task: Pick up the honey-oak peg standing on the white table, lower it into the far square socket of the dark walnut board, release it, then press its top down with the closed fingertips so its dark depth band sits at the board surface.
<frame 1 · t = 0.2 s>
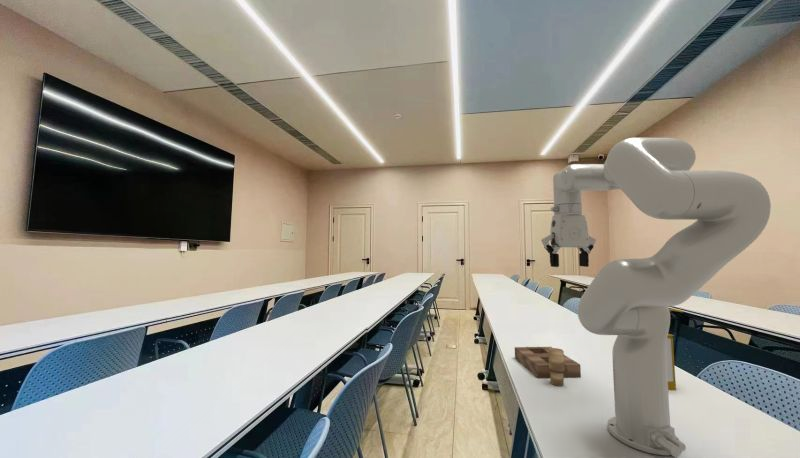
hand: (569, 266, 93), 36 cm above the table, tool pointing down, fingers open, 9 cm apart
board: (545, 366, 106), on the table
soap bottle: (664, 385, 92), on the table
peg: (557, 383, 93), on the table
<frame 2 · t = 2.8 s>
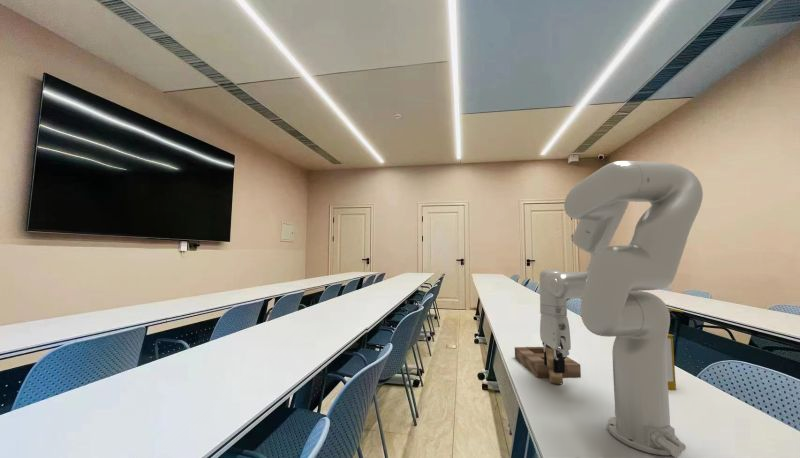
hand: (554, 368, 95), 4 cm above the table, tool pointing down, fingers closed on peg, 4 cm apart
peg: (556, 382, 94), on the table, tilted 8°, touching gripper
everything else where it was.
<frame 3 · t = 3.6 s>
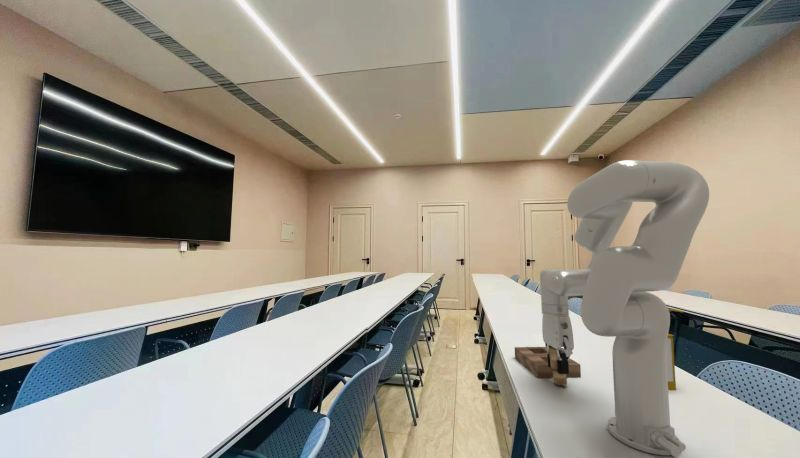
hand: (558, 369, 93), 4 cm above the table, tool pointing down, fingers closed on peg, 4 cm apart
peg: (560, 383, 92), point 1 cm above the table, tilted 9°, touching gripper
everything else where it was.
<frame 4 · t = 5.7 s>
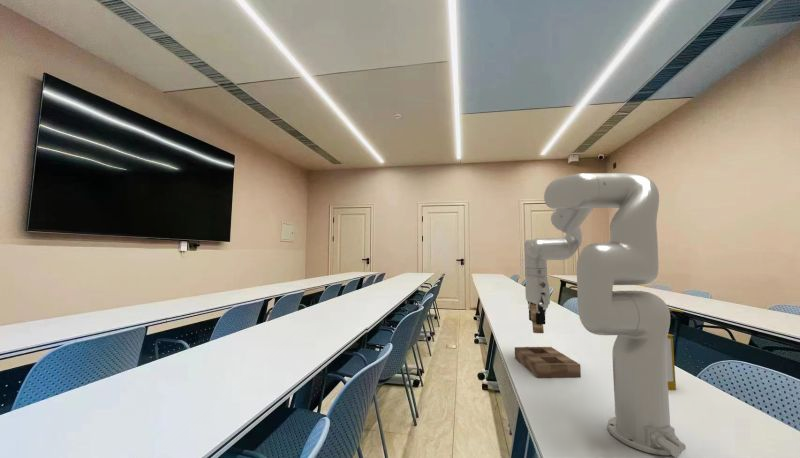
hand: (537, 321, 112), 14 cm above the table, tool pointing down, fingers closed on peg, 4 cm apart
peg: (538, 332, 111), point 11 cm above the table, tilted 6°, touching gripper
everything else where it was.
when the fingers open (4 cm above the table, at t = 7.6 s): peg stays where it is, resting in board.
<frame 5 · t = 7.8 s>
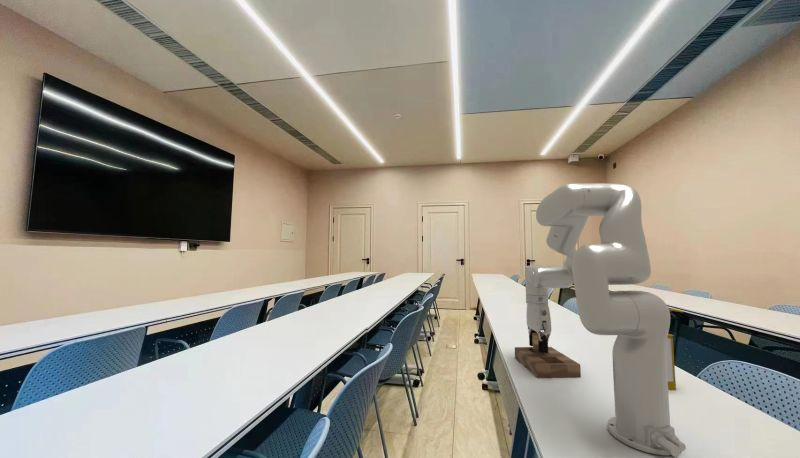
hand: (538, 348, 111), 5 cm above the table, tool pointing down, fingers open, 6 cm apart
peg: (539, 362, 111), resting in board
everything else where it was.
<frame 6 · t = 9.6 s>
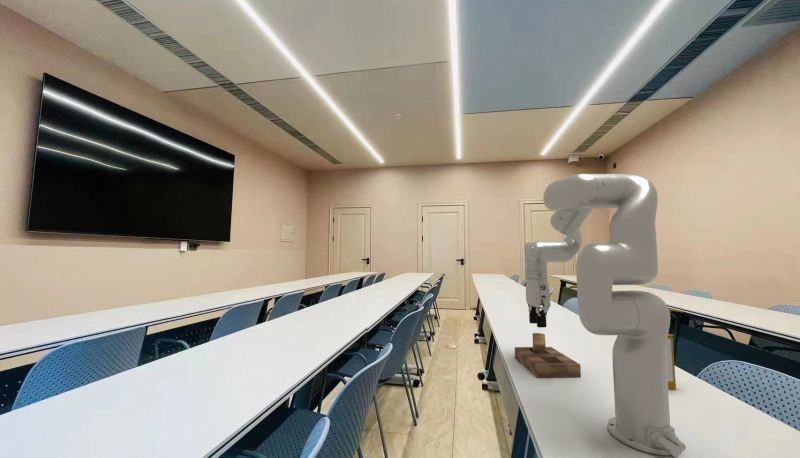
hand: (537, 324, 112), 13 cm above the table, tool pointing down, fingers open, 5 cm apart
nothing on the table moved.
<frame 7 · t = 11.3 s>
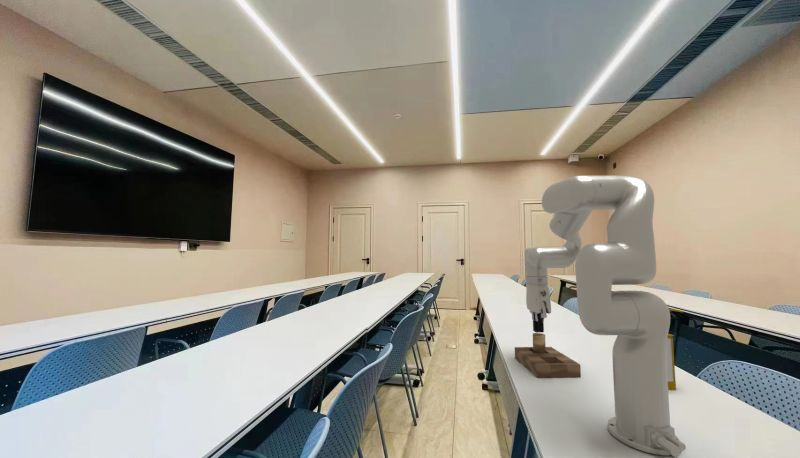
hand: (538, 331, 111), 11 cm above the table, tool pointing down, fingers closed
nothing on the table moved.
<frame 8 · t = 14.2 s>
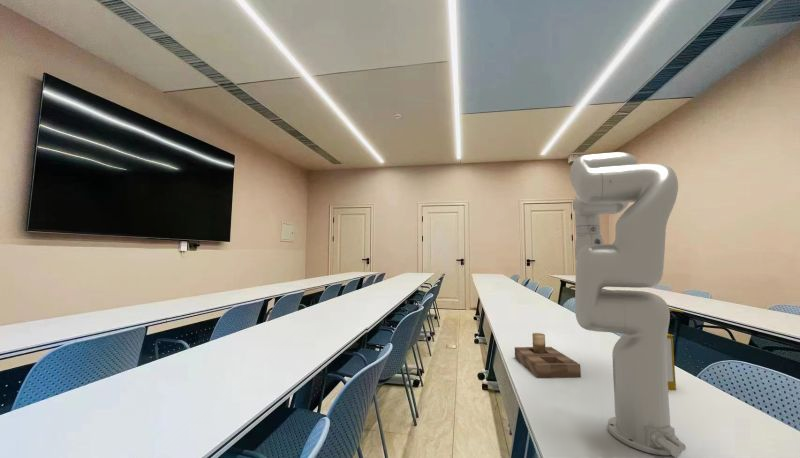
hand: (590, 283, 107), 29 cm above the table, tool pointing down, fingers closed
nothing on the table moved.
at the end: peg 0.4 cm from the target spot on the board, point 0.0 cm above the board's base; peg tilted 0°; the gripper is holding nothing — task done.
